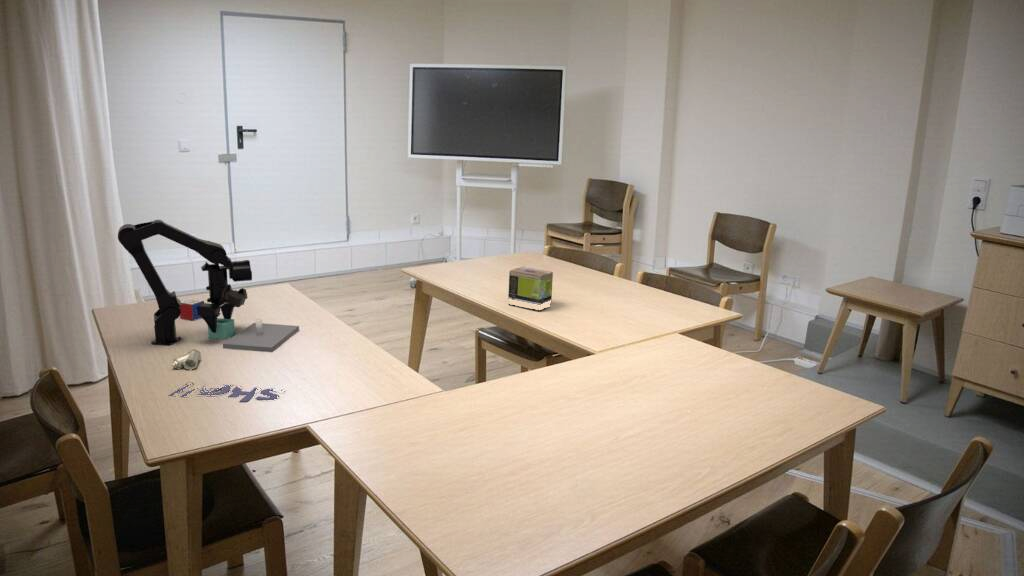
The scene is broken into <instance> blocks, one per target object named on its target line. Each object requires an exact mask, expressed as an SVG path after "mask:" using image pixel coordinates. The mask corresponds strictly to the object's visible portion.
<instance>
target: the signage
mask: <svg viewBox="0 0 1024 576" xmlns="http://www.w3.org/2000/svg"><path fill="white" fill-rule="evenodd" d="M191 383H192V384H193V382H191ZM186 384H187V383H185V384H184V385H186ZM184 385H182V386H181V387H183V386H184ZM190 385H191V384H190ZM193 385H194V384H193ZM224 385H225V386H226V387H225V386H224V387H222V388H220V389H219V388H217V389H218V390H220V391H217V389H216V388H213V389H214V390H213V389H210V390H206V388H205V390H206V391H208V392H205V391H204V389H203V388H204V387H202V388H201V389H202V390H201V389H199V393H198V394H197V395H210V396H209V397H212V396H211V395H220V394H224V393H226V394H228V393H230V392H231V391H232V392H233V393H232V392H231V394H229V395H228V396H227V397H228V398H229V397H237V396H238V397H240V396H239V395H246V396H243V398H241V399H240V400H239V403H248V402H250V401H251V400H252V399H253V398H254V397H255V398H254V399H257V400H256V401H260V400H274V399H277V396H278V397H279V398H280V395H279V394H277V393H274V392H269V391H273V389H274V388H265V389H262V388H260V387H259V388H260V389H261V390H260V392H259V394H260V395H261V394H263V395H262V396H259V395H258V396H254V394H255V391H256V389H257V388H258V387H253V388H252V390H250V391H246V390H245V391H242V390H241V389H240V388H238V387H237V386H238V385H236V386H235V387H234V388H233V389H232V386H231V385H232V384H224ZM229 385H230V386H231V387H230V386H229ZM188 386H189V385H187V386H185V387H183V388H181V387H178V389H176V390H177V391H176V390H175V391H173V392H171V393H170V394H169V395H168V396H173V395H174V394H175V393H178V392H179V393H180V391H181V390H182V391H183V389H185V388H186V387H188ZM239 386H240V385H239ZM240 387H242V386H240ZM180 388H181V389H180ZM197 389H198V388H197ZM221 389H223V390H221ZM230 389H232V390H230ZM270 389H271V390H270ZM194 390H195V389H193V390H191V391H189V390H188V391H185V393H183V394H182V395H179V396H180V397H184V396H187V394H188V393H189V394H190V393H191V392H192V391H194ZM211 390H213V391H216V392H213V391H211ZM257 390H258V389H257ZM282 390H283V389H282ZM282 390H281V391H282ZM201 391H203V392H204V393H203V392H201ZM209 391H211V392H213V394H212V393H211V392H209ZM229 391H230V392H229ZM227 392H228V393H227ZM179 393H178V394H179ZM200 393H201V394H200ZM208 393H210V394H208ZM273 393H274V394H273ZM224 395H225V394H224ZM265 395H267V396H265ZM220 396H221V395H220ZM253 396H254V397H253ZM268 396H270V397H268ZM173 397H174V396H173ZM180 397H179V398H180ZM238 397H237V398H238ZM252 397H253V398H252ZM184 398H185V397H184ZM251 398H252V399H251ZM250 399H251V400H250ZM277 400H278V399H277ZM274 401H275V400H274Z"/></svg>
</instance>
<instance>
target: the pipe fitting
mask: <svg viewBox="0 0 1024 576" xmlns="http://www.w3.org/2000/svg"><path fill="white" fill-rule="evenodd" d="M201 359H202V354H201V351H200V350H198V349H195V348H192V349H191V350H189V351H188V352H187V353H186V354H184V355H180V356H178V357H175V358H174V359H173V360H172V364H171V367H172V368H175V369H177V368H179V369H178V370H180V369H186V370H188V369H190V370H189V371H192V370H191V369H193V370H194V369H196V368H197V367H198V362H199V361H200V360H201ZM183 367H184V368H183Z"/></svg>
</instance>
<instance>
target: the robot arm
mask: <svg viewBox="0 0 1024 576" xmlns="http://www.w3.org/2000/svg"><path fill="white" fill-rule="evenodd" d="M158 235H159V236H161V237H164V238H166V239H168V240H170V241H172V242H175V243H177V244H179V245H180V246H183V247H186V248H188V249H190V250H193V251H194V252H195V253H198V254H199V255H200V257H202V258H204V259H205V260H206V261H205V263H204V264H203V265H201V267H200V269H201V271H202V272H207V279H208V285H207V286H206V287H205V289H206V291H208V292H209V297H208V298H207V299H206V302H204V304H202V305H200V306H198V307H197V308H196V311H197V315H199V316H201V317H202V319H203V320H204V322H205V323H206V325H207V327H208V326H209V328H210V330H211V331H212V333H216V328H217V318H219V316H221V314H222V317H223V319H232V317H233V313H234V309H235V308H240V307H241V306H243V305H245V302H246V300H247V299H248V293H247V289H246V288H243V287H241V288H239V290H237V289H232V286H231V284H229V283H228V282H229V281H228V278H229V280H232V282H233V283H236V282H237V283H238V282H248V281H252V280H253V272H252V268H251V261H250V260H249V259H245V260H238V261H237V260H235V261H234V260H233V261H232V259H231V258H230V257H229V256H228V255H227V252H226V249H225V248H224V246H223V245H222V244H221V243H220V244H219V243H218V242H214V241H210V240H205V239H203V238H202V239H201V238H198V237H196V236H194V235H192V234H190V233H188V232H185V231H183V230H182V229H179V228H177V227H174V226H173V225H171V224H168V223H166V222H164V220H162V219H155V220H152V221H148V222H141V223H137V224H132V223H127V224H123V225H121V226H120V227H119V229H118V232H117V239H118V241H119V243H120V244H121V245H122V246H123V248H124V250H126V251H127V252H128V254H130V255H131V257H132V258H133V259H134V261H135V263H136V264H137V266H138V268H139V269H140V271H141V273H142V275H143V277H144V279H145V280H146V282H147V284H148V286H149V287H150V289H151V291H152V293H153V294H154V298H155V300H156V303H157V307H158V310H156V311H155V312H154V313H153V322H154V327H153V328H154V338H155V339H154V340H152V341H151V342H150V344H151V345H152V344H153V345H163V346H165V345H167V346H170V345H173V344H175V343H177V341H179V340H181V339H182V337H181V336H177V330H176V329H177V327H176V320H177V319H179V318H180V314H181V309H180V307H182V306H181V302H182V301H181V300H180V299H179V298H178V297H177V294H176V291H175V290H174V291H172V292H170V291H169V290H168V289H167V287H166V285H165V283H164V282H163V280H162V279H161V276H160V275H159V273H158V271H157V269H156V268H155V267H156V266H154V264H153V263H152V261H151V258H150V256H149V255H148V253H147V251H146V249H145V245H144V243H143V240H147V239H150V238H152V237H154V236H158ZM208 262H210V263H211V264H210V263H208Z"/></svg>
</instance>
